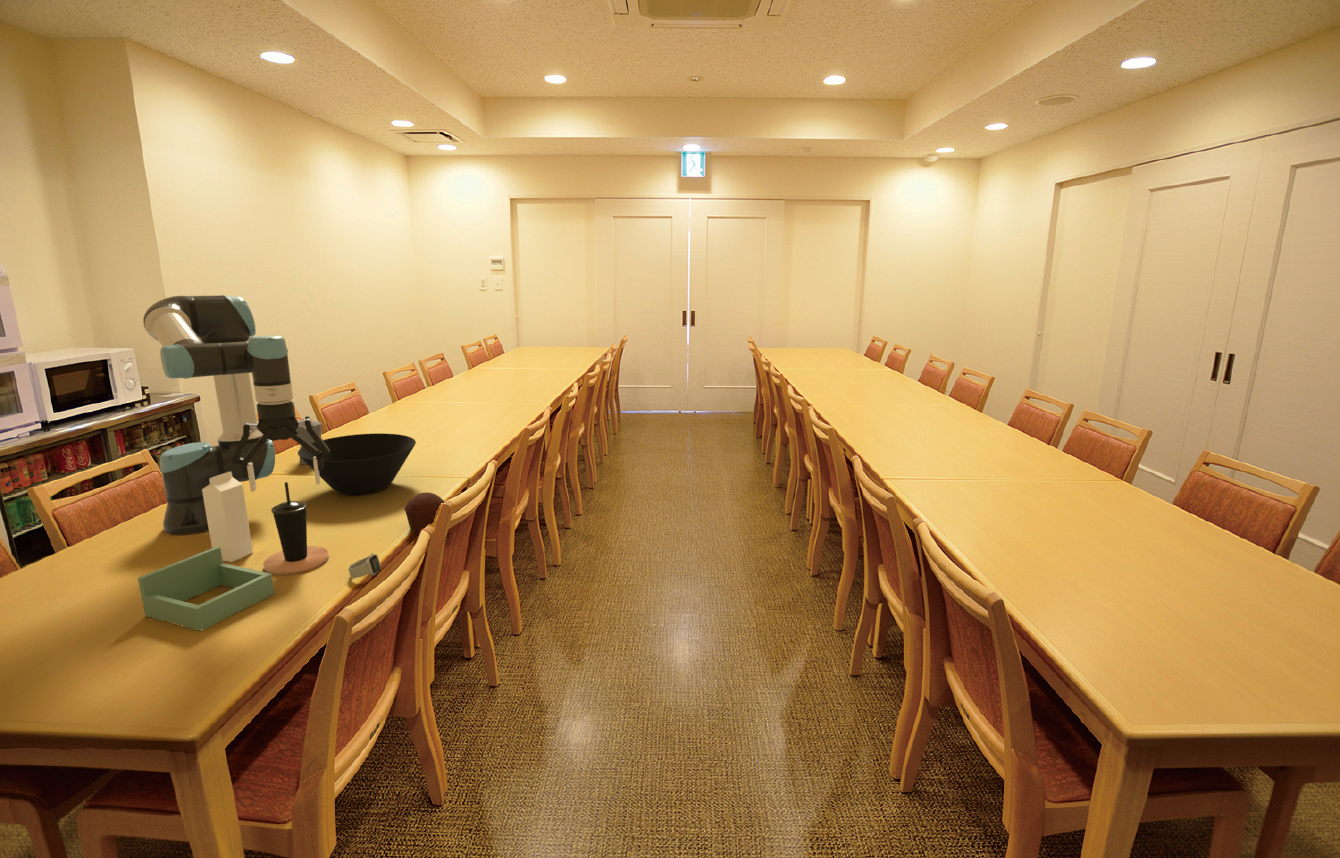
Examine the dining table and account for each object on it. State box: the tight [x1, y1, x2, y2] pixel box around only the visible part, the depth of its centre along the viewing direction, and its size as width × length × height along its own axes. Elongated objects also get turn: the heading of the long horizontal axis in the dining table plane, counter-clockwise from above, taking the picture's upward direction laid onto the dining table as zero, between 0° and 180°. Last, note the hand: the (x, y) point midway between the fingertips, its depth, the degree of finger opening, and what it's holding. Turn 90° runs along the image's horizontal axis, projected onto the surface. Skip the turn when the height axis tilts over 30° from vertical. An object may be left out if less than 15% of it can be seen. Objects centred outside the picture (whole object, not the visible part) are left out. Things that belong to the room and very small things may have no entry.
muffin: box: [403, 492, 445, 534], centre depth 177 cm, size 12×11×10 cm
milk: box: [202, 472, 254, 563], centre depth 156 cm, size 6×6×22 cm
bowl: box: [297, 432, 417, 496], centre depth 209 cm, size 36×36×15 cm
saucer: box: [263, 545, 329, 576], centre depth 155 cm, size 14×14×1 cm
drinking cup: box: [270, 482, 308, 562], centre depth 153 cm, size 8×8×20 cm
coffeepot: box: [296, 416, 322, 466], centre depth 238 cm, size 15×9×18 cm, turn 44°
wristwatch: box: [347, 553, 382, 579], centre depth 150 cm, size 9×6×5 cm
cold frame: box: [137, 547, 275, 632], centre depth 134 cm, size 16×16×9 cm
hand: (286, 486), depth 151 cm, fingers open, 13 cm apart
